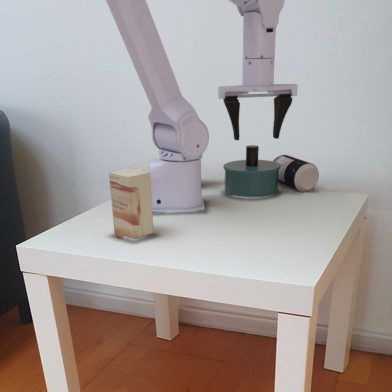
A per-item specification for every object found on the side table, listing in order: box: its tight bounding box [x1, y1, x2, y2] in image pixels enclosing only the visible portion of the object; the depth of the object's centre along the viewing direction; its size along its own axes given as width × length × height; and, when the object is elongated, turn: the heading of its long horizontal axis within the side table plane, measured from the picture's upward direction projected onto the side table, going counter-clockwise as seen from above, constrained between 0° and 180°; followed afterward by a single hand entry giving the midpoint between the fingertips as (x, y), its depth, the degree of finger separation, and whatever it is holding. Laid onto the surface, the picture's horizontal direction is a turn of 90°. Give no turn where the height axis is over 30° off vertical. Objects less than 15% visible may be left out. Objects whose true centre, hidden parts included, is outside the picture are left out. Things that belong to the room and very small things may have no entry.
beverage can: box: [272, 154, 320, 194], centre depth 108 cm, size 6×6×12 cm
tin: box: [224, 170, 279, 198], centre depth 105 cm, size 10×10×5 cm
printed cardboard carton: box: [108, 166, 155, 240], centre depth 82 cm, size 5×4×10 cm
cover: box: [222, 144, 281, 174], centre depth 103 cm, size 11×11×5 cm
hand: (256, 138), depth 102 cm, fingers open, 7 cm apart
